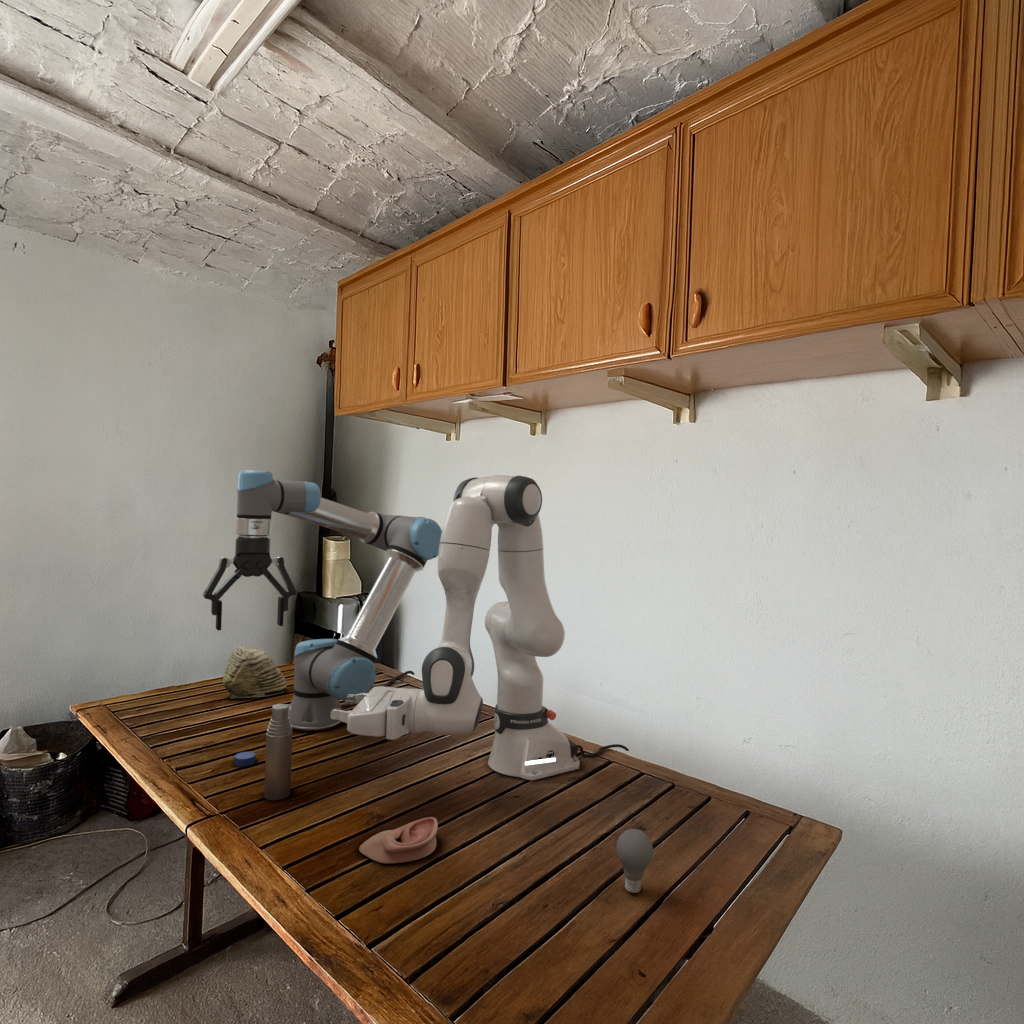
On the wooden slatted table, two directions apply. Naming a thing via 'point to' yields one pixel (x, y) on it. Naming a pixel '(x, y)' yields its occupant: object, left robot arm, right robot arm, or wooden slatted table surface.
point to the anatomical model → (403, 842)
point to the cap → (245, 759)
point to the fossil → (252, 674)
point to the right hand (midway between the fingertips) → (339, 706)
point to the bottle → (278, 754)
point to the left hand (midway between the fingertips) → (250, 627)
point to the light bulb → (634, 857)
